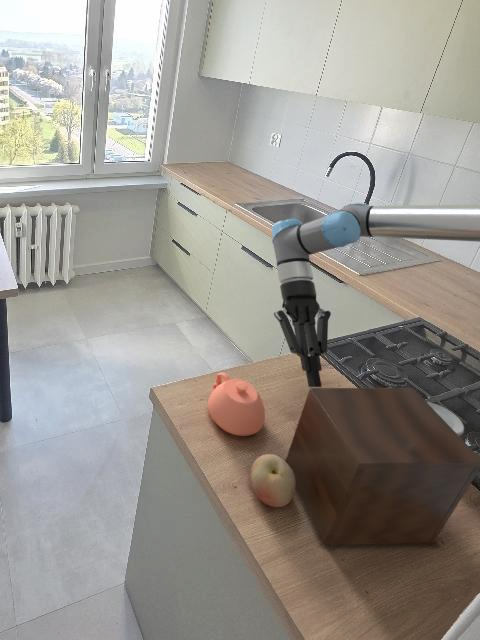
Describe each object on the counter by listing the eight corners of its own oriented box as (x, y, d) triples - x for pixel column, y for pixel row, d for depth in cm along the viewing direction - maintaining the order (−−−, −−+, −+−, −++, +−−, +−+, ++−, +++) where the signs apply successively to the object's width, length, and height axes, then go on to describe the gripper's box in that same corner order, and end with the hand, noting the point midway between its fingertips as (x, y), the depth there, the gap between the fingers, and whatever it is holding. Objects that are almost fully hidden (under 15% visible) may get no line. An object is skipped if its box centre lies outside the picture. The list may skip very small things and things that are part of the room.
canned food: (406, 432, 94) (424, 396, 90) (449, 458, 88) (470, 421, 84) (392, 449, 90) (410, 412, 85) (436, 478, 84) (458, 440, 80)
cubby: (377, 463, 87) (413, 387, 78) (433, 543, 73) (484, 462, 64) (284, 464, 86) (309, 387, 77) (323, 545, 72) (360, 463, 63)
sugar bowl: (229, 449, 88) (237, 415, 84) (191, 400, 100) (197, 367, 96) (273, 432, 92) (284, 398, 88) (232, 387, 104) (240, 355, 100)
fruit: (237, 490, 80) (245, 462, 77) (260, 466, 85) (268, 439, 82) (276, 525, 75) (287, 496, 71) (298, 497, 79) (308, 469, 76)
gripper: (314, 286, 105) (333, 386, 96) (263, 285, 104) (278, 386, 96) (331, 279, 98) (354, 386, 89) (277, 278, 97) (295, 387, 89)
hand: (315, 386), depth 92 cm, fingers closed
